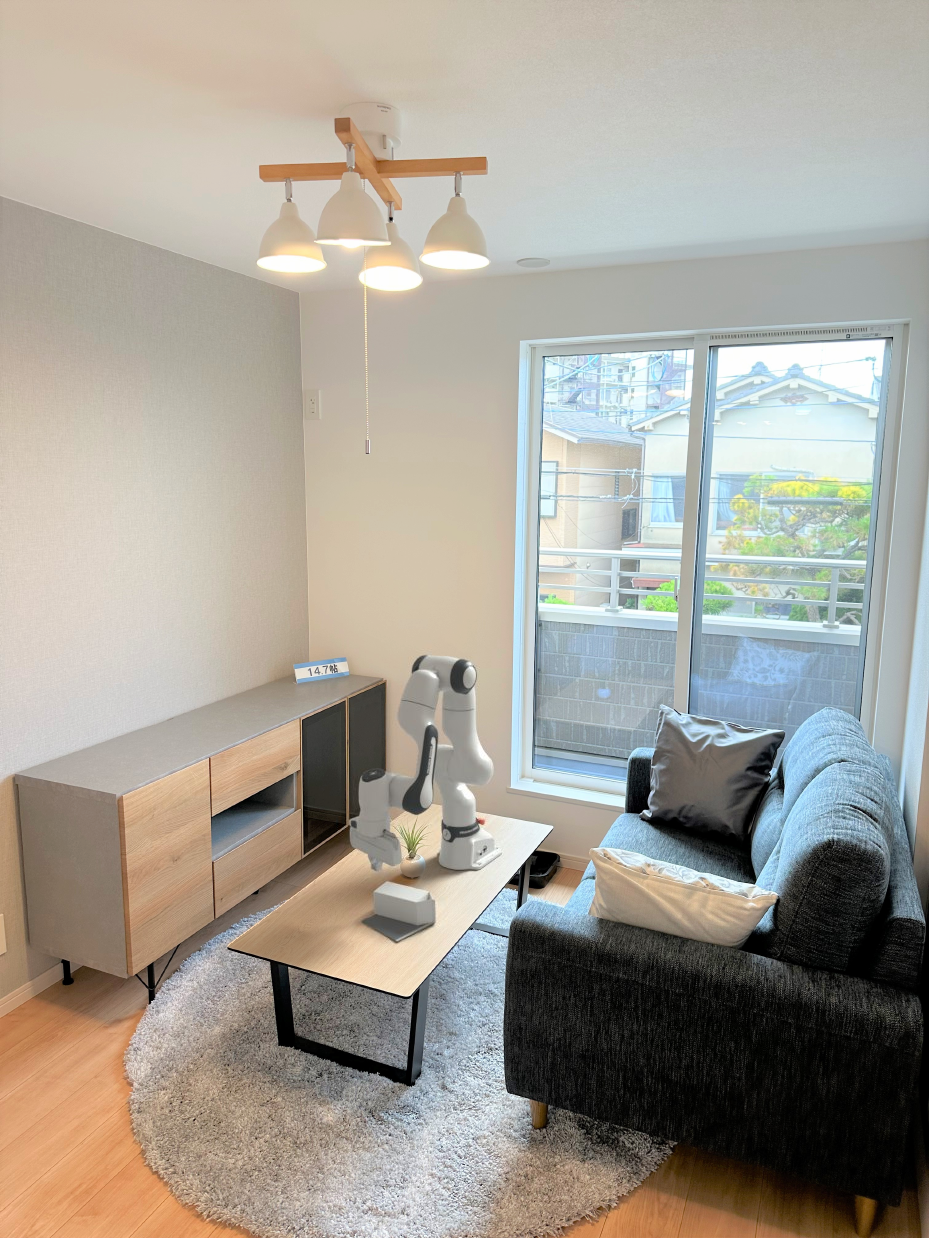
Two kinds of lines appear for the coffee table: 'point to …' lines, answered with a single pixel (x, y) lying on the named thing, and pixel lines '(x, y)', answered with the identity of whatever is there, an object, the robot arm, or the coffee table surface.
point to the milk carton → (404, 904)
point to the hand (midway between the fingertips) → (376, 869)
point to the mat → (393, 927)
